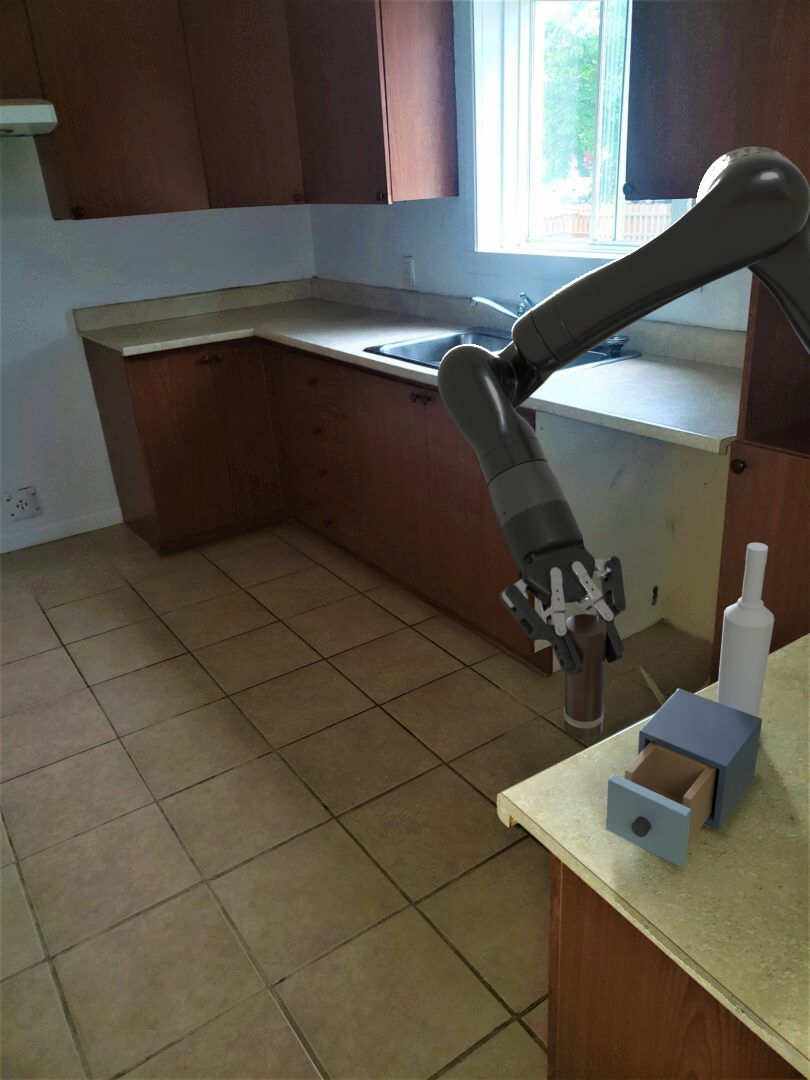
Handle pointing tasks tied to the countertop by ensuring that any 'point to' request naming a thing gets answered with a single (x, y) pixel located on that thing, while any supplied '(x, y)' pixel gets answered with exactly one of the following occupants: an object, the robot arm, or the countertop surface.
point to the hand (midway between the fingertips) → (596, 666)
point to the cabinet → (709, 744)
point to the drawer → (661, 801)
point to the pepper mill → (586, 678)
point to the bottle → (746, 639)
